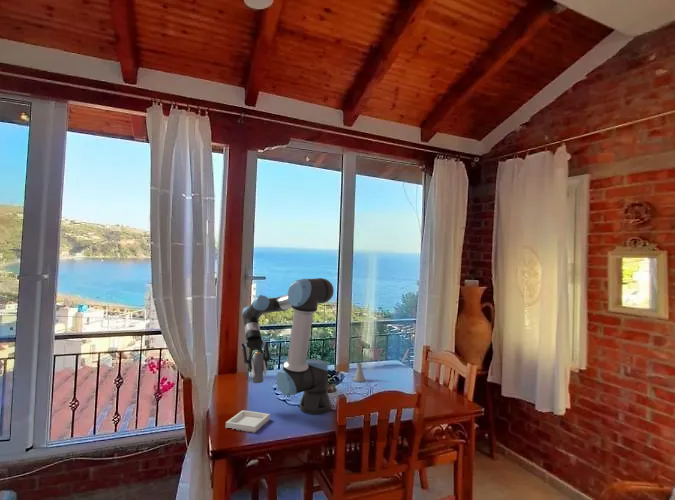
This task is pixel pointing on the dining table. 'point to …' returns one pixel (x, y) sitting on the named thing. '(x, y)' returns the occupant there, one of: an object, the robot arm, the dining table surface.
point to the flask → (359, 374)
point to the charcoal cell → (258, 367)
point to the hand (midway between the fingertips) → (259, 374)
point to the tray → (248, 421)
